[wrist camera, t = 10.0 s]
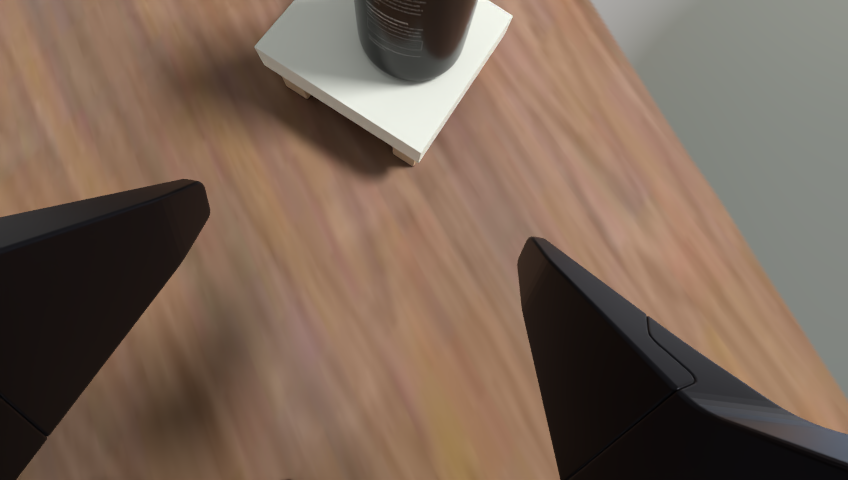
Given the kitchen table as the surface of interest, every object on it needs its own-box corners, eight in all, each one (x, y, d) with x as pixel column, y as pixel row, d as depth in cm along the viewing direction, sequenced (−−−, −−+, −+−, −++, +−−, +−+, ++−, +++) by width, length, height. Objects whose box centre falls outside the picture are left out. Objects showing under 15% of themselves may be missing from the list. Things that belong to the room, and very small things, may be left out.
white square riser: (415, 175, 23) (421, 153, 20) (276, 87, 23) (254, 46, 19) (493, 57, 26) (512, 16, 22) (367, -24, 25) (364, -81, 22)
